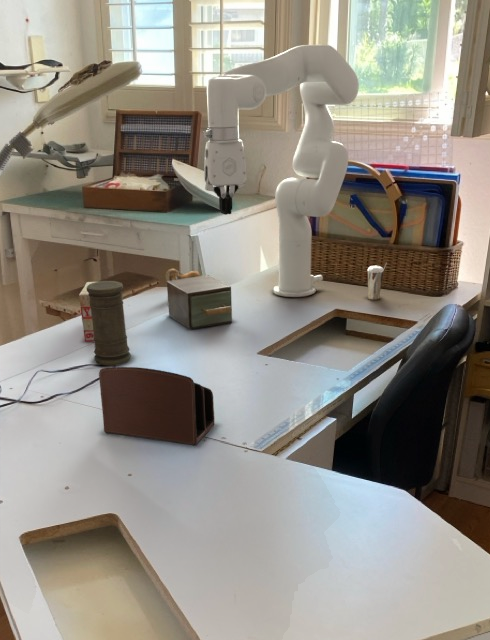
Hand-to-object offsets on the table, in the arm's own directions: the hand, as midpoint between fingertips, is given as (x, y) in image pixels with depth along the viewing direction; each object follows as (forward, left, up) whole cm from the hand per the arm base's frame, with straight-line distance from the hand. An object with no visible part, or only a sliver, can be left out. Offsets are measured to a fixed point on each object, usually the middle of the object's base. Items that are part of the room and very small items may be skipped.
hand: (226, 213), depth 211 cm
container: (+42, +10, -27) cm, 51 cm away
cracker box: (+32, -14, -27) cm, 44 cm away
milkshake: (-43, +13, -27) cm, 53 cm away
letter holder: (+55, +53, -27) cm, 81 cm away
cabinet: (+7, -4, -27) cm, 28 cm away
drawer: (+8, 0, -26) cm, 27 cm away
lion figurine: (-3, -26, -27) cm, 38 cm away
